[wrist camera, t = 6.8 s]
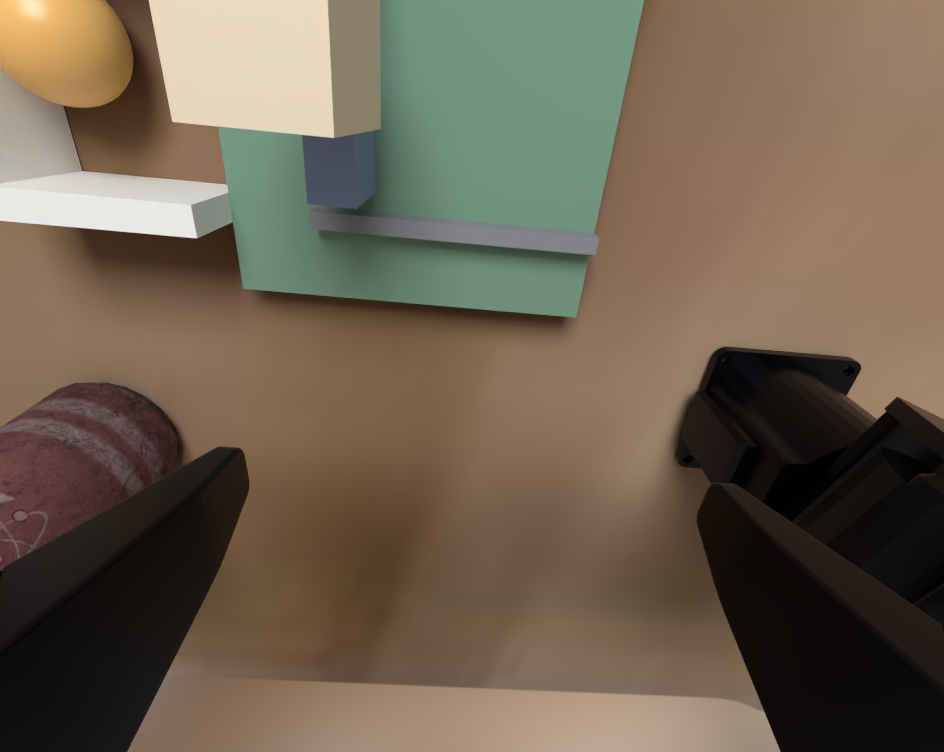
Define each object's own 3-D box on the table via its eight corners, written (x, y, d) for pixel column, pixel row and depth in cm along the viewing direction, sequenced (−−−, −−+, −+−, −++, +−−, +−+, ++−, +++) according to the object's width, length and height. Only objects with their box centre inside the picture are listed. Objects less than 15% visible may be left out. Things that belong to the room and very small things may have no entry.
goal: (200, -152, 13) (104, -245, 10) (250, 214, 18) (197, 238, 15) (-57, -185, 13) (-252, -293, 10) (63, 196, 18) (-36, 217, 14)
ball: (3, -35, 14) (137, -17, 15) (45, 101, 16) (162, 112, 17) (-97, -72, 11) (76, -47, 12) (-32, 101, 13) (116, 114, 14)
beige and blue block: (399, -79, 13) (314, -296, 6) (395, 195, 16) (339, 255, 9) (294, -91, 13) (84, -329, 6) (313, 186, 16) (195, 243, 9)
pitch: (676, -222, 13) (714, -285, 11) (569, 304, 20) (580, 325, 18) (182, -290, 12) (124, -369, 10) (258, 276, 19) (233, 295, 17)
